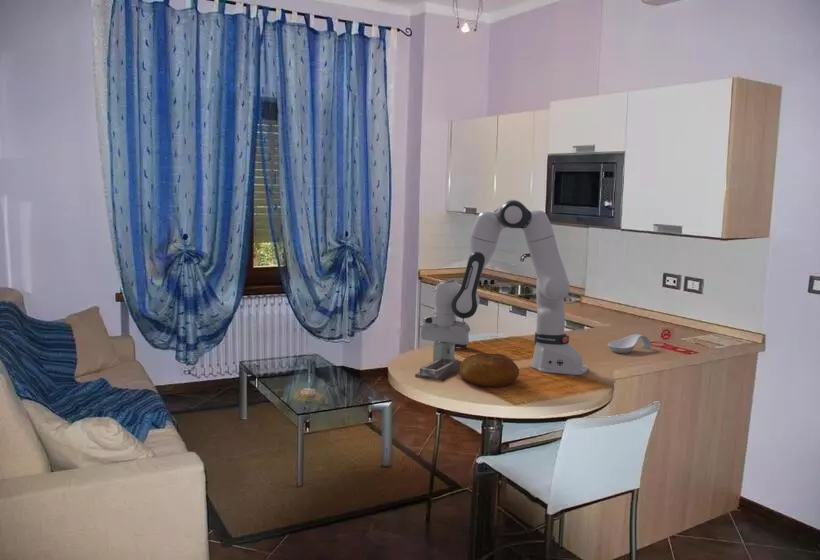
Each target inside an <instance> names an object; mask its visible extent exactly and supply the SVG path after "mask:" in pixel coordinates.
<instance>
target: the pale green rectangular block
mask: <svg viewBox="0 0 820 560" xmlns="http://www.w3.org/2000/svg"><path fill="white" fill-rule="evenodd" d="M450 347H451V346H450V343H445V342H439V343H437V344H435V345H434V344H433V352H432V354H433V355H432V362H434V361H436V360H438V359H440V358H447V359H455V351H456V348H455V346H454V348H453V349H452V354H448V353H447V352H448V351H447V349H450Z"/></svg>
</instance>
